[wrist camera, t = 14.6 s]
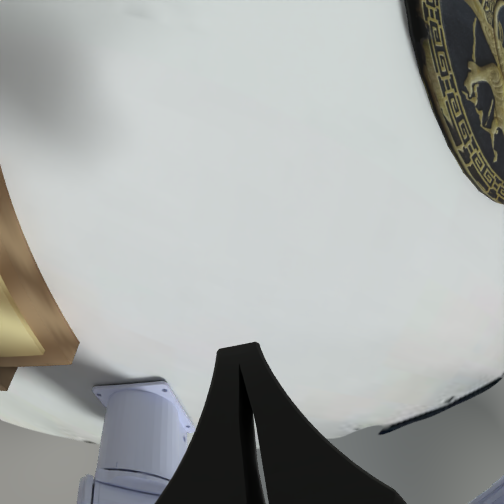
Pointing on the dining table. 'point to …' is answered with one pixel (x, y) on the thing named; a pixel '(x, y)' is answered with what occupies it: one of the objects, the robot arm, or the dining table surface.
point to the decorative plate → (465, 81)
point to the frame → (27, 302)
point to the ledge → (6, 377)
